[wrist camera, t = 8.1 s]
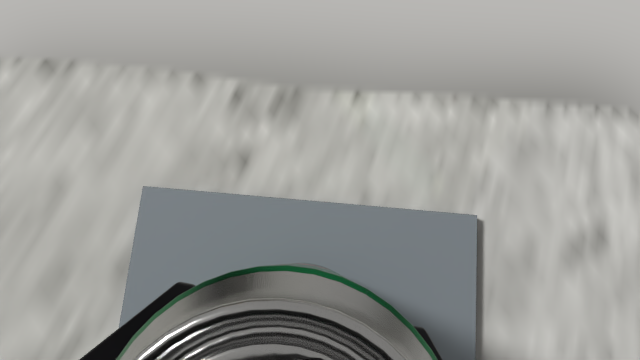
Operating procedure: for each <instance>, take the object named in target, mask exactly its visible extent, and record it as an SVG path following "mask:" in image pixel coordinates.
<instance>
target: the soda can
mask: <svg viewBox="0 0 640 360" xmlns="http://www.w3.org/2000/svg"><path fill="white" fill-rule="evenodd" d="M116 360H437V358H436V356H435V355H434V353H433V351H432V349H431V348H430V347H429V346H428V344H427V343H426V342H425V340H424V339H423V338H422V337H421V335H420V334H419V333H418V331H417V330H416V329H415V328H414V326H413V325H412V324H411V323H410V322H409V321H408V320H406V319H405V318H404V317H403V316H402V315H401V314H400V313H399V312H398V311H397V310H396V309H395V308H394V307H393V306H392V305H390V304H389V303H387V302H386V301H384V300H383V299H382V298H380V297H379V296H377V295H376V294H374V293H373V292H371V291H370V290H369V289H367V288H365V287H363V286H361V285H359V284H357V283H355V282H354V281H352V280H350V279H348V278H346V277H344V276H342V275H340V274H338V273H336V272H334V271H332V270H330V269H328V268H326V267H323V266H320V265H317V264H311V263H289V264H277V265H265V266H257V267H252V268H247V269H241V270H236V271H231V272H229V273H226V274H223V275H220V276H218V277H215V278H212V279H209V280H207V281H204V282H202V283H200V284H199V285H197V286H195V287H193V288H191V289H189V290H188V291H186V292H184V293H182V294H180V295H179V296H177V297H176V298H175V299H173V300H172V301H171V302H169V303H168V304H167V305H165V306H164V307H163V308H162V309H160V310H159V311H158V312H156V313H155V314H154V315H153V316H152V317H151V318H150V319H149V320H148V321H147V322H146V323H145V324H144V325H143V326H142V327H141V328H140V329H139V330H138V331H137V332H136V333H135V334H134V336H133V337H132V338H131V340H130V341H129V342H128V344H127V345H126V346H125V348H124V349H123V351H122V352H121V353H120V355H119V356H118V357H117V359H116Z"/></svg>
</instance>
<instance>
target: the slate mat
mask: <svg viewBox="0 0 640 360" xmlns="http://www.w3.org/2000/svg"><path fill="white" fill-rule="evenodd" d="M289 263H311V264H317V265H320V266H323V267H326V268H328V269H330V270H332V271H334V272H336V273H338V274H340V275H342V276H344V277H346V278H348V279H350V280H352V281H354V282H355V283H357V284H359V285H361V286H363V287H365V288H367V289H369V290H370V291H371V292H373V293H374V294H376V295H377V296H379V297H380V298H382V299H383V300H384V301H386V302H387V303H389V304H390V305H392V306H393V307H394V308H395V309H396V310H397V311H398V312H399V313H400V314H401V315H402V316H403V317H404V318H405V319H406V320H408V321H409V322H410V323H411V324H412V325H414V326H419V327H423V328H424V329H425V330H426V331H427V333H428V335H429V337H430V338H431V340H432V342H433V344H434V345H435V347H436V349H437V351H438V352H439V354H440V356H441V358H442V359H443V360H475V353H476V265H477V215H469V214H457V213H446V212H434V211H423V210H411V209H400V208H388V207H377V206H365V205H354V204H342V203H331V202H319V201H308V200H296V199H285V198H273V197H262V196H250V195H239V194H227V193H216V192H204V191H193V190H181V189H170V188H158V187H147V186H143V189H142V195H141V201H140V207H139V213H138V219H137V224H136V230H135V236H134V242H133V248H132V254H131V259H130V265H129V271H128V277H127V283H126V289H125V294H124V300H123V306H122V312H121V318H120V324H119V328H120V327H121V326H123V325H124V324H125V323H126V322H128V321H129V320H130V319H131V318H133V317H134V316H135V315H136V314H138V313H139V312H140V311H141V310H143V309H144V308H145V307H146V306H148V305H149V304H150V303H151V302H153V301H154V300H155V299H157V298H158V297H159V296H160V295H162V294H163V293H164V292H165V291H167V290H168V289H169V288H170V287H172V286H173V285H174V284H176V283H177V282H185V283H190V284H194V285H195V286H197V285H199V284H200V283H202V282H204V281H207V280H209V279H212V278H215V277H218V276H220V275H223V274H226V273H229V272H231V271H236V270H241V269H247V268H252V267H257V266H265V265H277V264H289Z"/></svg>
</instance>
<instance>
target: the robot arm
mask: <svg viewBox="0 0 640 360" xmlns="http://www.w3.org/2000/svg"><path fill="white" fill-rule="evenodd" d="M193 287H195V285H194V284H190V283H185V282H177V283H176V284H174V285H173V286H172V287H170V288H169V289H168V290H167V291H165V292H164V293H163V294H162V295H160V296H159V297H158V298H157V299H155V300H154V301H153V302H151V303H150V304H149V305H148V306H146V307H145V308H144V309H143V310H141V311H140V312H139V313H138V314H136V315H135V316H134V317H133V318H131V319H130V320H129V321H128V322H126V323H125V324H124V325H123V326H121V327H120V328H119V329H117V330H116V331H115V332H114V333H112V334H111V335H110V336H109V337H107V338H106V339H105V340H104V341H102V342H101V343H100V344H99V345H97V346H96V347H95V348H94V349H92V350H91V351H90V352H88V353H87V354H86V355H85V356H83V357H82V358H81V359H80V360H116V359H117V357H118V356H119V355H120V353H121V352H122V351H123V349H124V348H125V346H126V345H127V344H128V342H129V341H130V340H131V338H132V337H133V336H134V334H135V333H136V332H137V331H138V330H139V329H140V328H141V327H142V326H143V325H144V324H145V323H146V322H147V321H148V320H149V319H150V318H151V317H152V316H153V315H154V314H155V313H156V312H158V311H159V310H160V309H162V308H163V307H164V306H165V305H167V304H168V303H169V302H171V301H172V300H173V299H175V298H176V297H177V296H179V295H180V294H182V293H184V292H186V291H188V290H189V289H191V288H193ZM413 326H414V325H413ZM414 328H415V329H416V330H417V331H418V333H419V334H420V335H421V337H422V338H423V339H424V340H425V342H426V343H427V344H428V346H429V347H430V348H431V349H432V351H433V353H434V355H435V356H436V358H437V360H443V359H442V358H441V356H440V354H439V352H438V351H437V349H436V347H435V345H434V344H433V342H432V340H431V338H430V337H429V335H428V333H427V331H426V330H425V329H424V328H423V327H419V326H414Z"/></svg>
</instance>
